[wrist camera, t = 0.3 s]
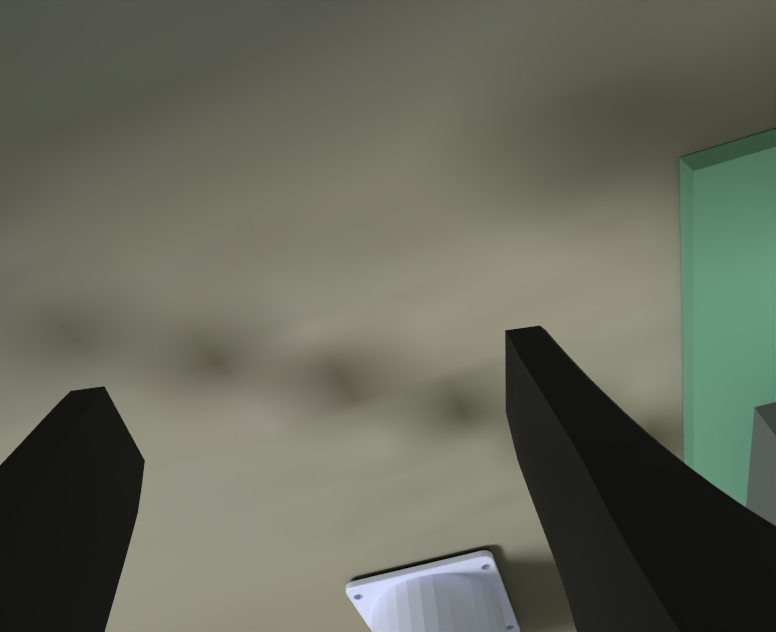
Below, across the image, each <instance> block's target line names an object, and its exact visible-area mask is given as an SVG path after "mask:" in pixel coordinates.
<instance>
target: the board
mask: <svg viewBox="0 0 776 632" xmlns="http://www.w3.org/2000/svg"><path fill="white" fill-rule="evenodd" d="M679 165H680V230H681V294H682V359H683V423H684V463H685V464H686V465H688V466H689V467H690V468H692V469H693V470H694V471H696V472H697V473H698V474H700V475H701V476H702V477H704V478H705V479H706V480H708V481H709V482H710V483H712V484H713V485H715V486H716V487H717V488H719V489H720V490H722V491H723V492H725V493H726V494H727V495H729V496H730V497H732V498H733V499H735V500H736V501H737V502H739V503H740V504H742V505H743V506H745V507H746V508H748V509H749V510H751V511H753V512H754V513H756V514H757V515H759V516H761V517H762V518H764V519H765V520H767V521H769V522H770V523H772V524H773V525H775V526H776V129H773V130H770V131H766V132H763V133H760V134H756V135H753V136H750V137H746V138H743V139H740V140H736V141H733V142H730V143H727V144H723V145H720V146H717V147H713V148H710V149H707V150H703V151H700V152H697V153H693V154H690V155H687V156H683V157H680V158H679Z"/></svg>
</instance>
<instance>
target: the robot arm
mask: <svg viewBox="0 0 776 632" xmlns="http://www.w3.org/2000/svg"><path fill="white" fill-rule="evenodd" d="M505 341H506V414H507V418H508V422H509V426H510V431H511V435H512V439H513V443H514V447H515V451H516V455H517V459H518V462H519V465H520V468H521V471H522V473H523V476H524V479H525V482H526V484H527V487H528V490H529V492H530V495H531V498H532V500H533V503H534V506H535V508H536V511H537V514H538V517H539V519H540V522H541V525H542V527H543V530H544V533H545V535H546V538H547V541H548V543H549V546H550V549H551V551H552V554H553V557H554V559H555V562H556V565H557V567H558V570H559V573H560V576H561V579H562V582H563V585H564V588H565V591H566V594H567V597H568V600H569V604H570V608H571V612H572V615H573V619H574V623H575V626H576V630H577V632H776V526H775V525H773V524H772V523H770V522H769V521H767V520H765V519H764V518H762V517H761V516H759V515H757V514H756V513H754V512H753V511H751V510H749V509H748V508H746V507H745V506H743V505H742V504H740V503H739V502H737V501H736V500H735V499H733V498H732V497H730V496H729V495H727V494H726V493H725V492H723V491H722V490H720V489H719V488H717V487H716V486H715V485H713V484H712V483H710V482H709V481H708V480H706V479H705V478H704V477H702V476H701V475H700V474H698V473H697V472H696V471H694V470H693V469H692V468H690V467H689V466H688V465H686V464H685V463H684V462H683V461H681V460H680V459H679V458H677V457H676V456H675V455H674V454H672V453H671V452H670V451H669V450H668V449H666V448H665V447H664V446H663V445H661V444H660V443H659V442H658V441H657V440H656V439H654V438H653V437H652V436H651V435H650V434H649V433H647V432H646V431H645V430H644V429H643V428H642V427H640V426H639V425H638V424H637V423H636V422H635V421H634V420H633V419H632V418H630V417H629V416H628V415H627V414H626V413H625V412H624V411H623V410H622V409H621V408H620V407H619V406H618V405H617V404H615V403H614V402H613V401H612V400H611V399H610V398H609V397H608V396H607V395H606V394H605V393H604V392H603V391H602V390H601V389H600V388H599V387H598V386H597V385H596V384H595V383H594V382H593V381H592V380H591V379H590V378H589V377H588V376H587V375H586V374H585V373H584V372H583V371H582V370H581V369H580V368H579V367H578V366H577V365H576V364H575V362H574V361H573V360H572V359H571V358H570V357H569V356H568V355H567V354H566V353H565V352H564V351H563V349H562V348H561V347H560V346H559V345H558V344H557V343H556V342H555V340H554V339H553V338H552V337H551V336H550V335H549V334H548V332H547V331H546V330H545V329H543V328H542V327H541V326H534V327H527V328H520V329H513V330H505ZM144 462H145V460H144V459H143V457H142V455H141V453H140V451H139V449H138V448H137V446H136V444H135V442H134V440H133V438H132V437H131V435H130V433H129V431H128V429H127V427H126V425H125V424H124V422H123V420H122V418H121V416H120V414H119V413H118V411H117V409H116V407H115V405H114V403H113V402H112V400H111V398H110V396H109V394H108V392H107V390H106V389H105V387H96V388H89V389H82V390H75V391H70V392H69V393H68V394H67V395H66V396H65V397H64V398H63V399H62V400H61V401H60V402H59V403H58V404H57V405H56V406H55V407H54V408H53V409H52V411H51V412H50V413H49V414H48V415H47V416H46V417H45V418H44V419H43V420H42V421H41V422H40V423H39V424H38V425H37V427H36V428H35V429H34V430H33V431H32V432H31V433H30V434H29V435H28V436H27V437H26V438H25V439H24V441H23V442H22V443H21V444H20V445H19V446H18V447H17V448H16V449H15V450H14V451H13V452H12V453H11V455H10V456H9V457H8V458H7V459H6V460H5V461H4V462H3V463H2V464H1V465H0V632H105V628H106V625H107V621H108V618H109V614H110V611H111V607H112V604H113V600H114V597H115V593H116V590H117V586H118V583H119V579H120V576H121V572H122V569H123V565H124V561H125V558H126V554H127V551H128V547H129V543H130V540H131V536H132V532H133V529H134V525H135V521H136V517H137V514H138V507H139V501H140V494H141V487H142V479H143V470H144ZM346 594H347V595H348V597H349V598H350V600H351V601H352V603H353V604H354V605H355V607H356V608H357V610H358V611H359V613H360V614H361V616H362V617H363V619H364V620H365V622H366V623H367V625H368V626H369V627H370V629H371V630H372V632H520V628H519V625H518V623H517V620H516V617H515V614H514V612H513V609H512V606H511V603H510V601H509V598H508V595H507V593H506V590H505V587H504V584H503V582H502V579H501V576H500V573H499V571H498V568H497V565H496V563H495V560H494V557H493V554H492V553H491V552H490V551H486V550H483V551H478V552H474V553H469V554H465V555H461V556H457V557H452V558H448V559H444V560H440V561H436V562H431V563H427V564H423V565H419V566H415V567H410V568H406V569H402V570H398V571H394V572H389V573H385V574H381V575H377V576H372V577H368V578H364V579H360V580H356V581H352V582H349V583H348V584H347V585H346Z"/></svg>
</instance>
